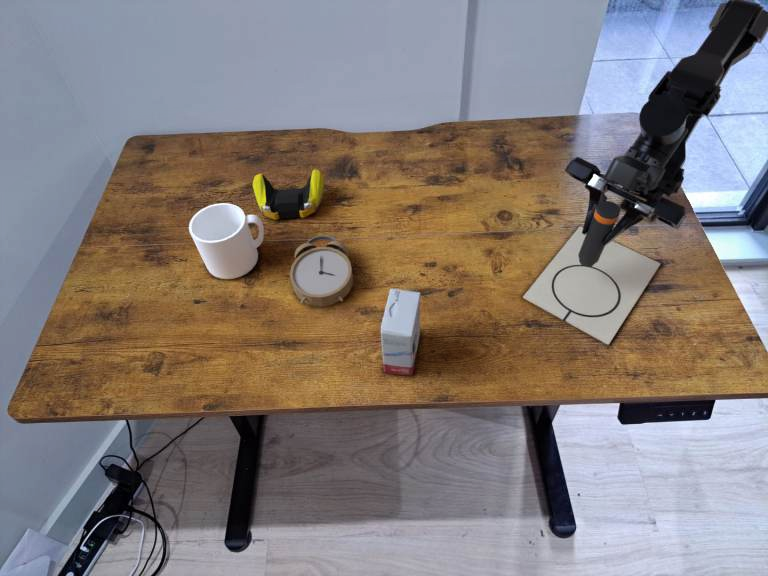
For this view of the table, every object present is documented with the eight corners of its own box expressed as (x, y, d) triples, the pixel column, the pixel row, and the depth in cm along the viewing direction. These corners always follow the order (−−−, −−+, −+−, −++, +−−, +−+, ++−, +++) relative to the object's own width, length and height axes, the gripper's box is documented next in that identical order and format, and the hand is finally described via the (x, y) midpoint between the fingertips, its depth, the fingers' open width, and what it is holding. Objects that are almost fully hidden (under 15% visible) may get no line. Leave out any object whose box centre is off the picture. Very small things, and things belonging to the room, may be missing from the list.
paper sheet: (579, 227, 101) (580, 225, 100) (660, 264, 94) (661, 263, 94) (521, 299, 91) (522, 297, 90) (607, 346, 84) (608, 345, 83)
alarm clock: (288, 301, 89) (289, 229, 96) (293, 313, 93) (294, 244, 100) (352, 296, 89) (349, 225, 96) (355, 308, 93) (351, 239, 100)
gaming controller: (258, 191, 111) (254, 223, 105) (251, 171, 107) (247, 203, 101) (326, 186, 111) (326, 218, 105) (323, 165, 107) (322, 197, 101)
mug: (207, 284, 95) (188, 247, 87) (206, 247, 102) (188, 209, 93) (274, 270, 97) (261, 233, 89) (268, 234, 103) (256, 195, 95)
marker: (572, 256, 89) (592, 203, 79) (590, 251, 89) (612, 198, 80) (582, 271, 87) (604, 218, 77) (601, 266, 87) (625, 213, 77)
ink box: (412, 377, 82) (412, 337, 73) (382, 372, 83) (379, 332, 73) (420, 333, 87) (421, 290, 78) (392, 328, 88) (390, 286, 78)
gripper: (587, 112, 76) (530, 205, 80) (713, 165, 67) (643, 266, 71) (599, 132, 85) (548, 215, 89) (711, 181, 77) (649, 270, 81)
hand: (593, 239), depth 82 cm, fingers closed on marker, 3 cm apart
